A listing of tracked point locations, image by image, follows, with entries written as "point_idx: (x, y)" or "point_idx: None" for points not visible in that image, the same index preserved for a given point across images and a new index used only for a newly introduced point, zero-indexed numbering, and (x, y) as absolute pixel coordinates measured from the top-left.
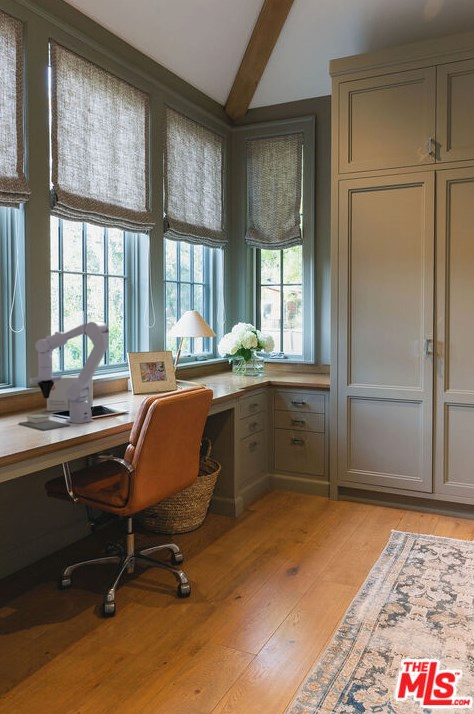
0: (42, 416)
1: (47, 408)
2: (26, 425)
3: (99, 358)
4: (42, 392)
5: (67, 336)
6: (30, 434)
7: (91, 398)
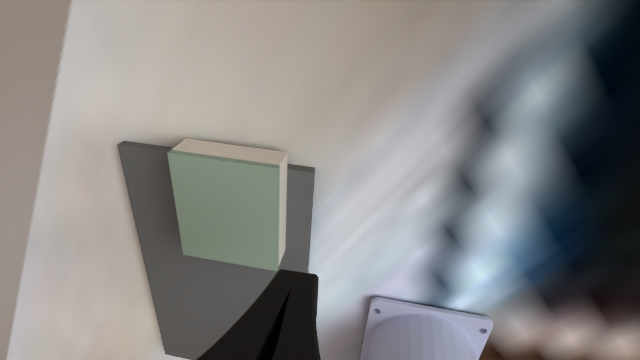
0: (244, 246)
1: None
2: (140, 228)
3: None
4: (242, 323)
5: None
6: (103, 347)
7: None
